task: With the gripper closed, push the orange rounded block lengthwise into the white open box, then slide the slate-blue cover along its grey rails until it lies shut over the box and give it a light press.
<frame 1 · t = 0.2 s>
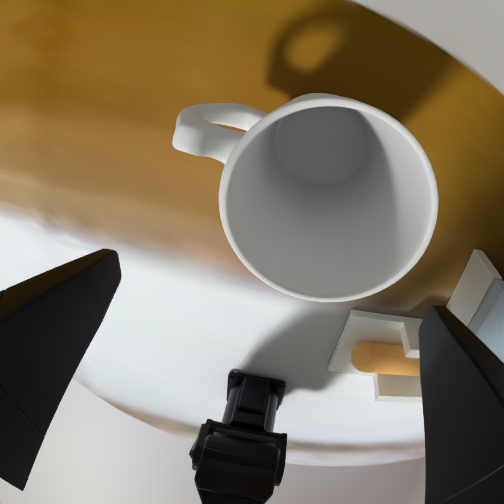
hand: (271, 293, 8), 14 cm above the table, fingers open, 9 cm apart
orange rounded block: (394, 348, 26), point 1 cm above the table, touching white open box
white open box: (420, 348, 27), on the table
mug: (297, 127, 19), on the table
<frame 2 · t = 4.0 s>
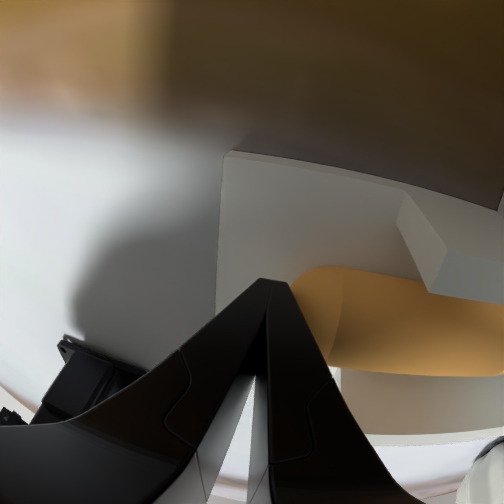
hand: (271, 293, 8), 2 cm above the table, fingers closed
orange rounded block: (414, 300, 9), point 1 cm above the table, touching white open box, gripper
white open box: (454, 304, 10), on the table
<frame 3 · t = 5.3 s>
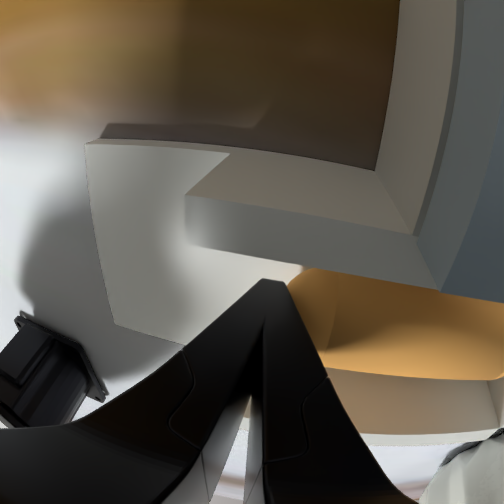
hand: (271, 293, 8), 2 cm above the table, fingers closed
orange rounded block: (412, 302, 9), point 1 cm above the table, touching white open box, gripper
vase: (487, 448, 16), on the table
white open box: (343, 283, 10), on the table
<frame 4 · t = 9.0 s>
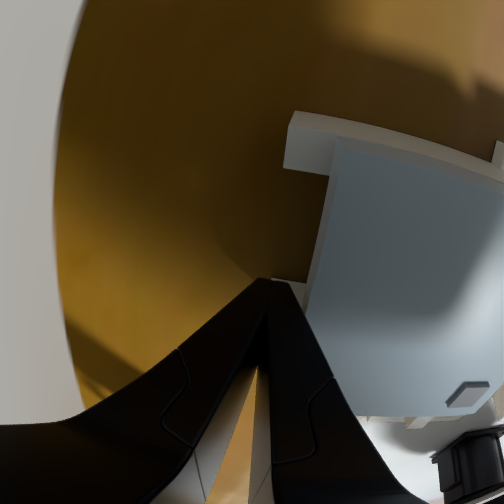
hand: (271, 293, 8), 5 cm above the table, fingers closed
cover: (443, 325, 7), point 5 cm above the table, slide at 6.9 cm, touching gripper
white open box: (483, 325, 13), on the table
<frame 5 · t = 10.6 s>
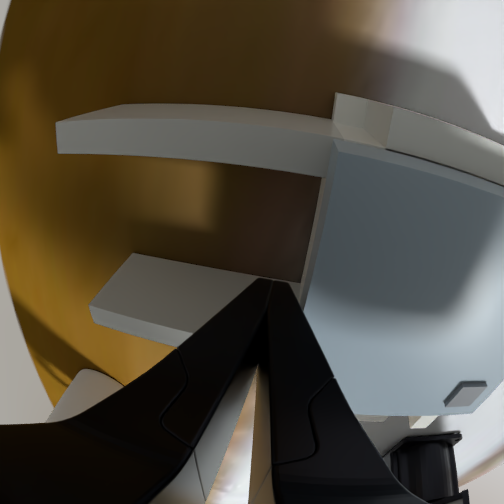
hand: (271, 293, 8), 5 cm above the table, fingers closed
cover: (439, 325, 7), point 5 cm above the table, slide at 0.3 cm, touching gripper
white open box: (378, 313, 14), on the table
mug: (109, 396, 24), on the table
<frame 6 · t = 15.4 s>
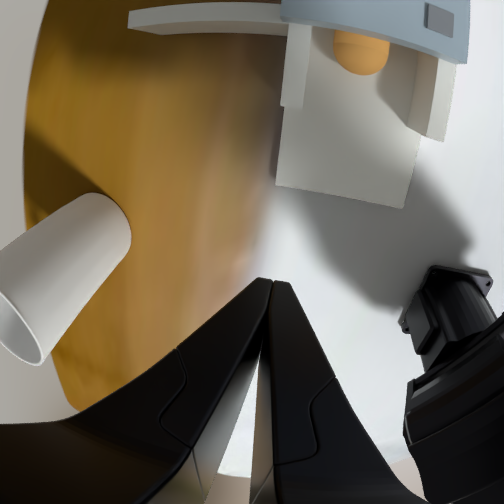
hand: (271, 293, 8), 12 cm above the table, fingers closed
orange rounded block: (365, 4, 12), point 1 cm above the table, tilted 8°, touching white open box
white open box: (363, 49, 14), on the table
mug: (100, 241, 24), on the table
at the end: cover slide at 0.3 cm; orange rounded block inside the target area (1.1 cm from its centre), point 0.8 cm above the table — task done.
